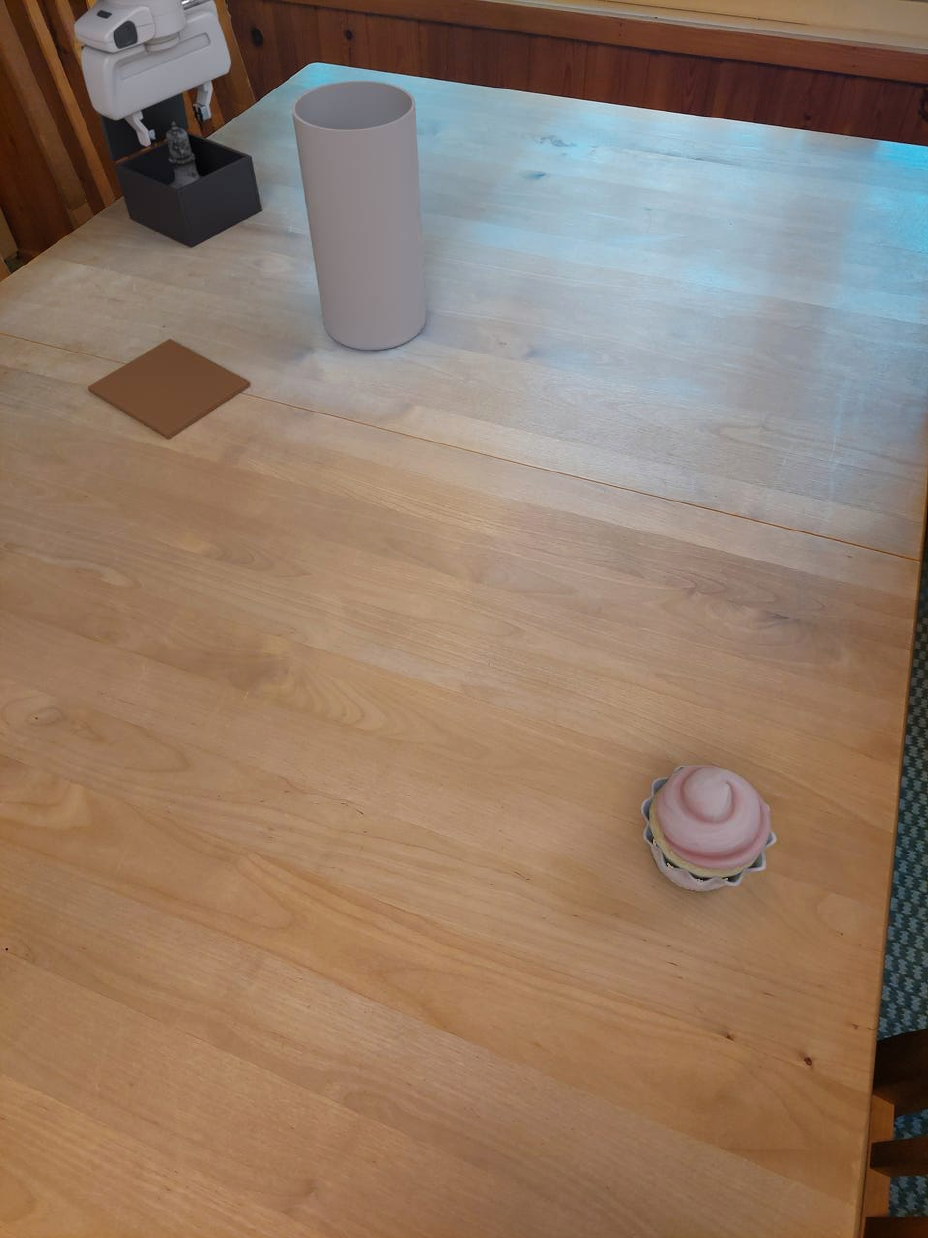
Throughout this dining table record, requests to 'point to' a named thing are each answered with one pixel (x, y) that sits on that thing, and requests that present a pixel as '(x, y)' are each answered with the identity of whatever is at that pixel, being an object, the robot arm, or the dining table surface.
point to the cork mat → (169, 388)
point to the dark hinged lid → (156, 117)
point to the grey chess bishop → (181, 157)
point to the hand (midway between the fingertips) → (176, 130)
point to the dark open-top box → (190, 191)
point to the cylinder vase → (363, 210)
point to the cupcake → (707, 827)
